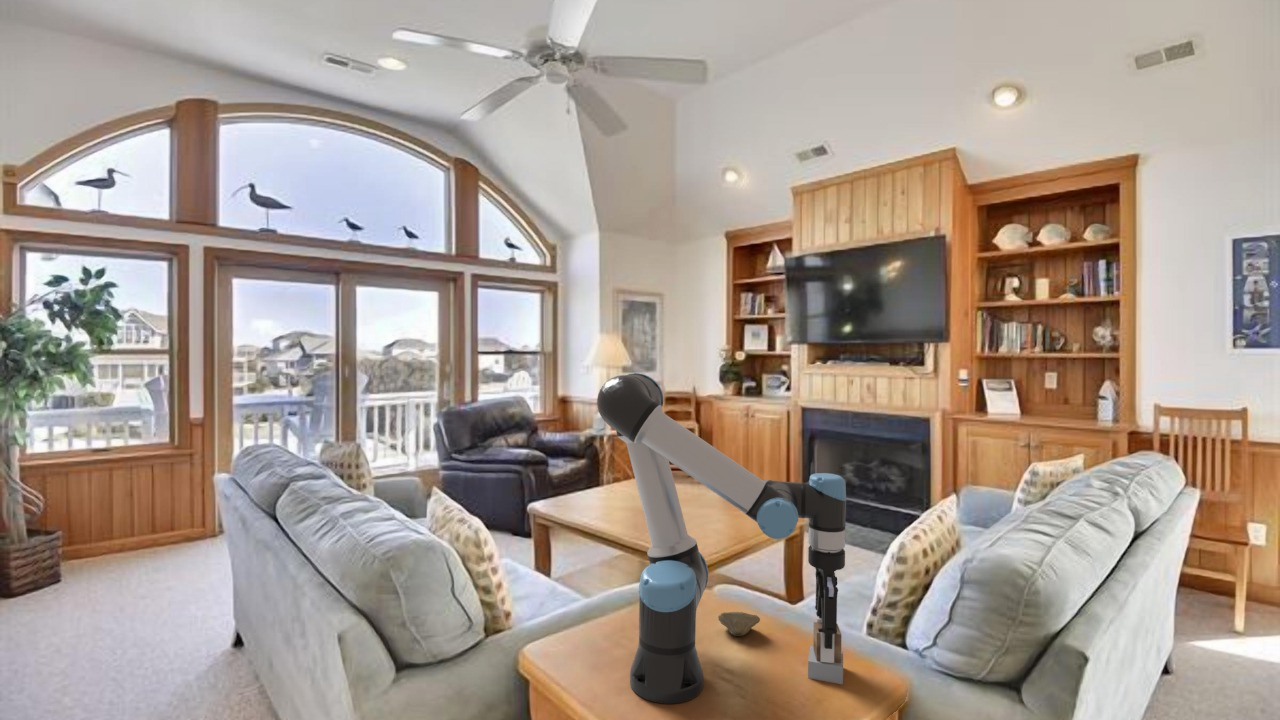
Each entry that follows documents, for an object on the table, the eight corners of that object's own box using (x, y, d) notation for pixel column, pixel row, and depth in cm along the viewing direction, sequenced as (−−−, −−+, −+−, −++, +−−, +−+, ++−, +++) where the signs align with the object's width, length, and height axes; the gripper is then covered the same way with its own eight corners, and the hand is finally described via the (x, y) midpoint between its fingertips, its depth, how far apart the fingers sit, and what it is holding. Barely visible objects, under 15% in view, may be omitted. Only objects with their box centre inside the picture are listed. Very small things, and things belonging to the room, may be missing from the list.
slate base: (807, 679, 126) (808, 661, 126) (809, 663, 133) (809, 645, 133) (842, 686, 124) (843, 667, 124) (842, 669, 131) (843, 651, 130)
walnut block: (816, 660, 126) (816, 632, 126) (813, 649, 131) (813, 622, 131) (841, 662, 125) (841, 634, 125) (837, 650, 130) (837, 623, 130)
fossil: (765, 613, 144) (726, 607, 142) (766, 632, 141) (727, 626, 139) (750, 625, 150) (712, 619, 148) (751, 643, 147) (713, 637, 146)
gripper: (853, 562, 118) (851, 679, 119) (837, 535, 136) (835, 636, 137) (814, 560, 120) (812, 675, 120) (803, 533, 137) (801, 633, 138)
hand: (825, 654), depth 128 cm, fingers closed on walnut block, 5 cm apart
